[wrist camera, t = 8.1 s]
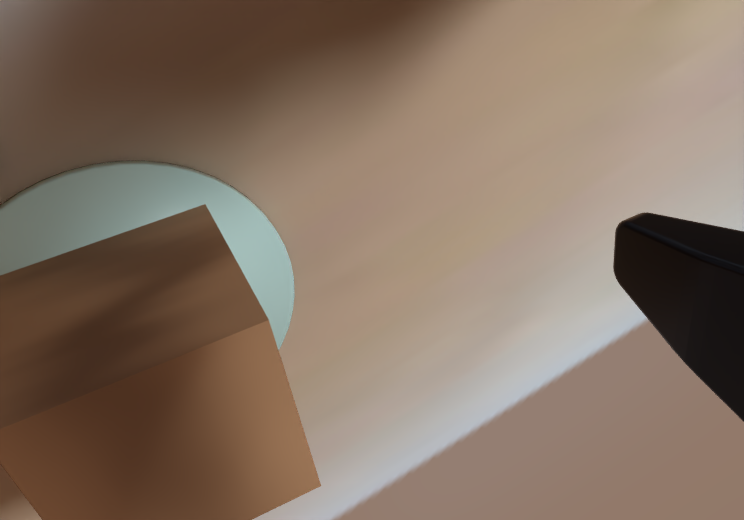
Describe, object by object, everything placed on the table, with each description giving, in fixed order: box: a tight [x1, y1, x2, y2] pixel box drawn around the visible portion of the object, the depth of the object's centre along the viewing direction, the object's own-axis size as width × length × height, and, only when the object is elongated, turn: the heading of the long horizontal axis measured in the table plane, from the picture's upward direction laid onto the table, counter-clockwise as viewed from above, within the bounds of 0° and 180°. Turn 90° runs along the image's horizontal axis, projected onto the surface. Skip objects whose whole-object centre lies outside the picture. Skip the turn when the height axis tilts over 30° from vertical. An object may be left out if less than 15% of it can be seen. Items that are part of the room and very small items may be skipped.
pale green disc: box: [0, 161, 294, 350], centre depth 20 cm, size 10×10×1 cm
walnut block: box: [0, 204, 321, 520], centre depth 18 cm, size 6×6×6 cm
